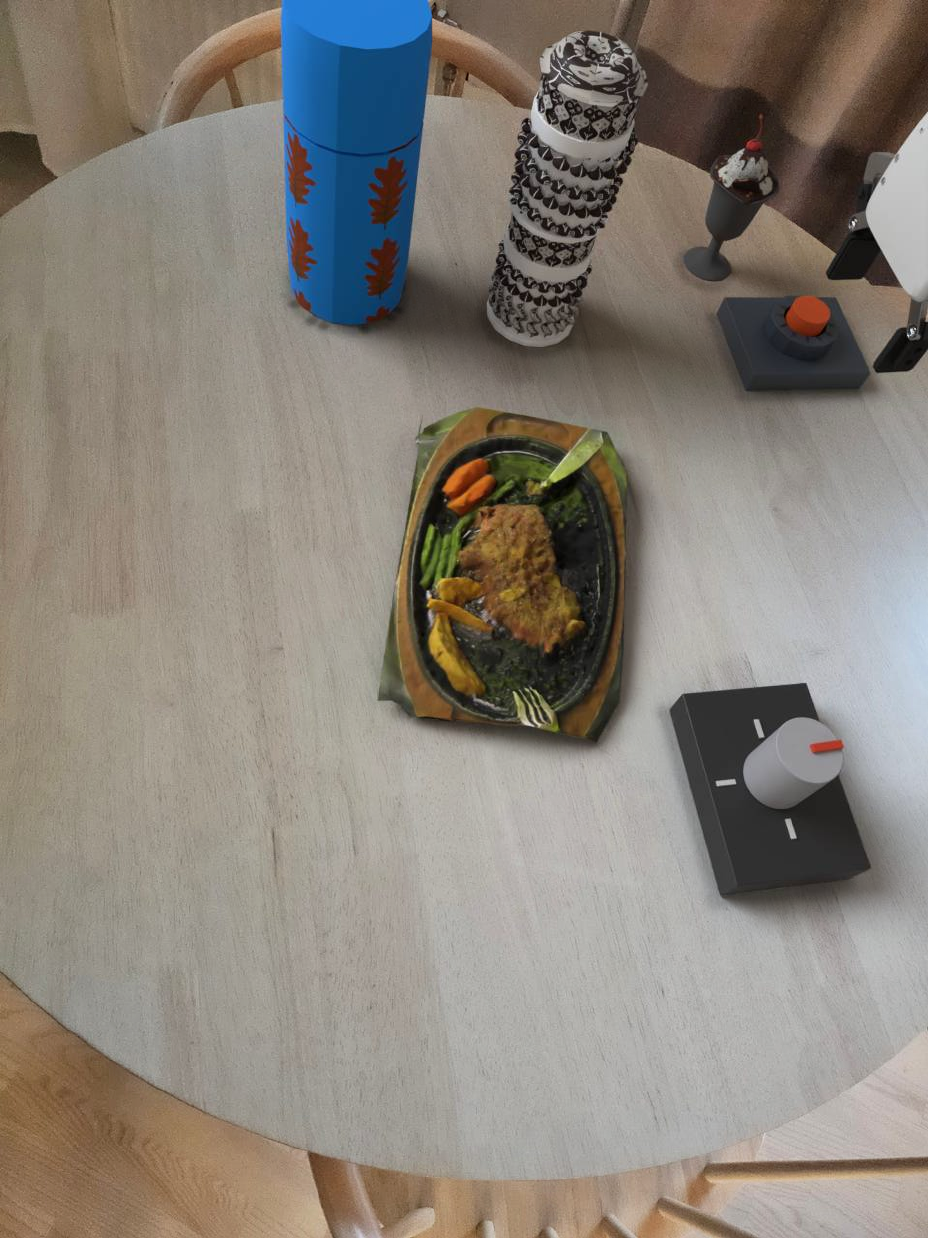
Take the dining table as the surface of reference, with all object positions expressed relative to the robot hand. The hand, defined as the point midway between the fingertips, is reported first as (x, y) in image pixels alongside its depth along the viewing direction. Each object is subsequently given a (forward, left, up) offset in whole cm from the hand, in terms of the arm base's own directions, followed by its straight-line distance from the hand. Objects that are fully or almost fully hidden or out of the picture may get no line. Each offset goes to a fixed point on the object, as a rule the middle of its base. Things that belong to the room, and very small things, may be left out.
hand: (866, 321), depth 73 cm
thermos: (+38, -21, -15) cm, 45 cm away
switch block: (-4, -12, -15) cm, 20 cm away
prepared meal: (+28, +11, -15) cm, 34 cm away
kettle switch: (-4, -12, -12) cm, 17 cm away
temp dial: (+13, +31, -12) cm, 36 cm away
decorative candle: (+21, -17, -15) cm, 31 cm away
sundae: (+1, -24, -15) cm, 28 cm away
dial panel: (+13, +31, -15) cm, 37 cm away
